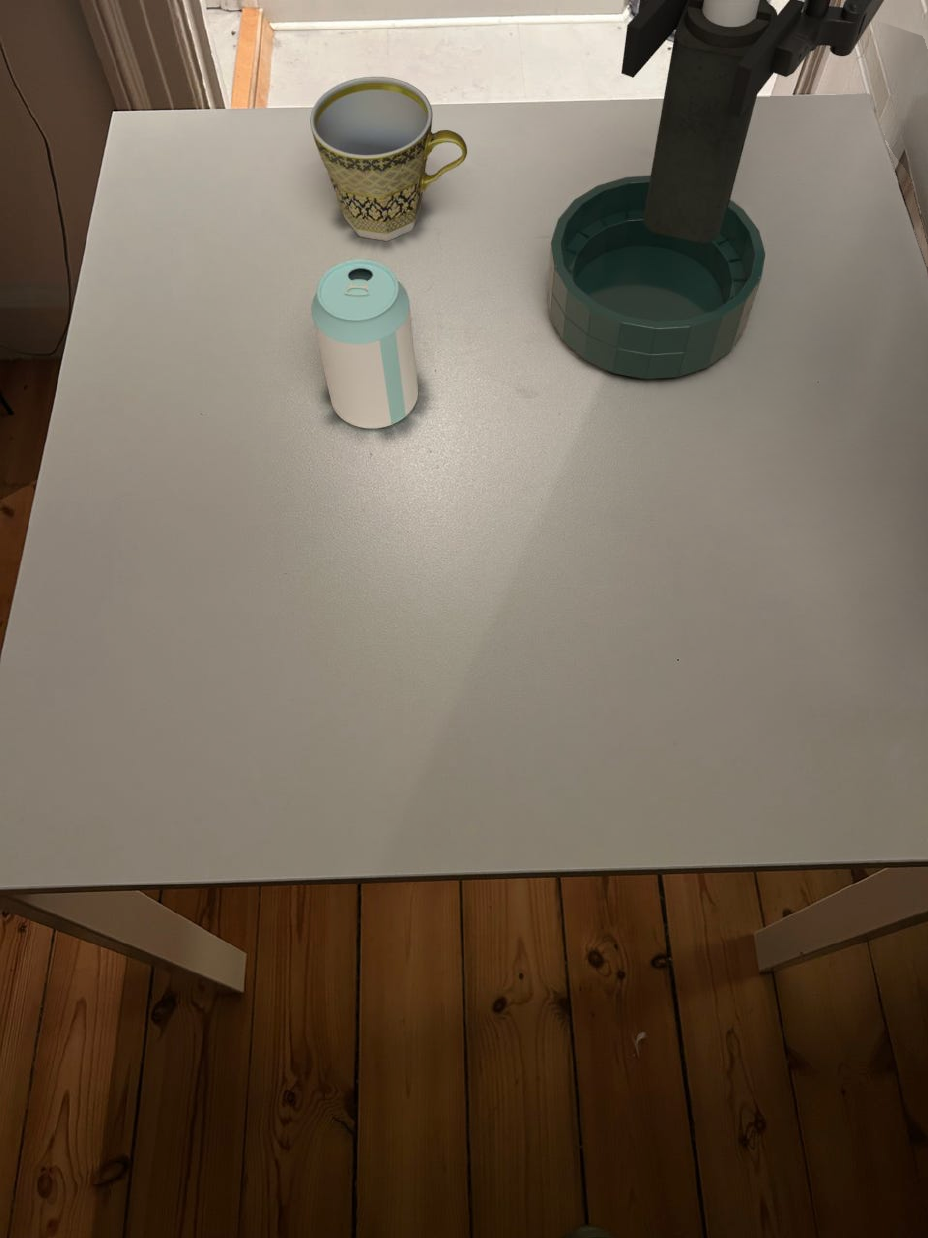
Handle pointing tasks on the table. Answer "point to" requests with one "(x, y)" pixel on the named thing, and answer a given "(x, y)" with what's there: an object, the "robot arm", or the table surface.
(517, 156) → the table surface
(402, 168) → the ceramic cup
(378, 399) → the can
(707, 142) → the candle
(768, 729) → the table surface
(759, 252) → the bowl
